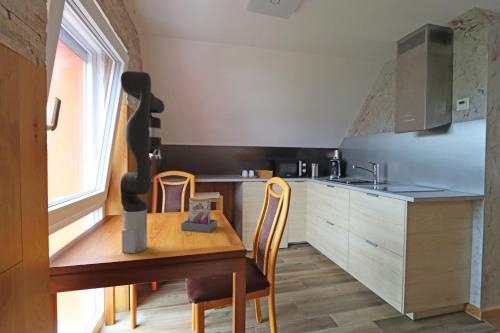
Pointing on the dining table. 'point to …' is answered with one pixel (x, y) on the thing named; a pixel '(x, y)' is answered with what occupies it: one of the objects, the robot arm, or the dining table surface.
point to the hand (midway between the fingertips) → (154, 166)
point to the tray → (199, 226)
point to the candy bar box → (199, 210)
